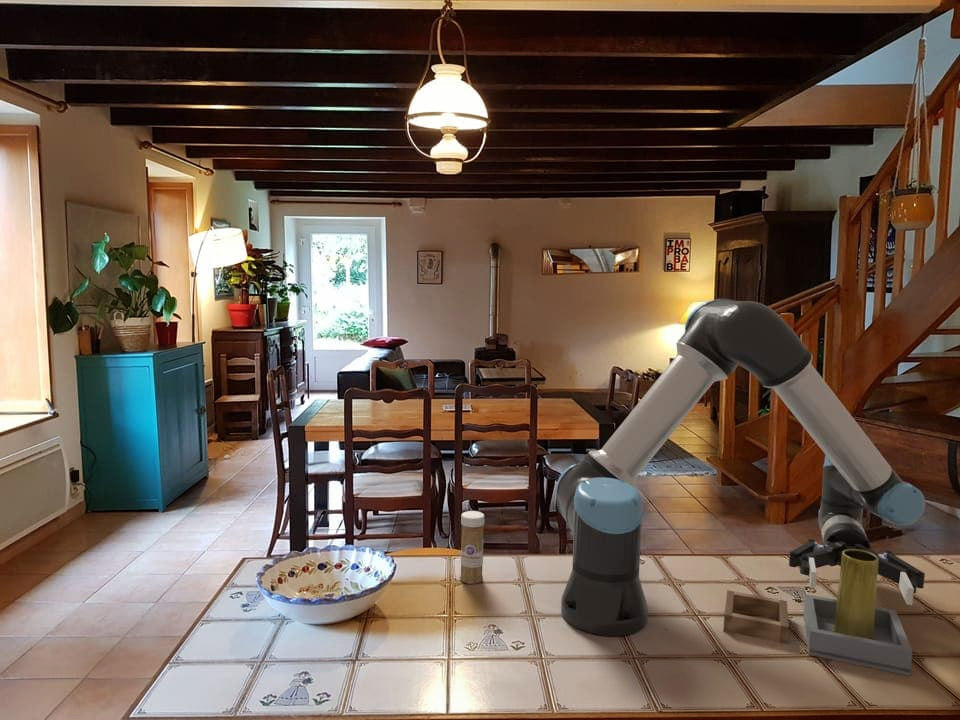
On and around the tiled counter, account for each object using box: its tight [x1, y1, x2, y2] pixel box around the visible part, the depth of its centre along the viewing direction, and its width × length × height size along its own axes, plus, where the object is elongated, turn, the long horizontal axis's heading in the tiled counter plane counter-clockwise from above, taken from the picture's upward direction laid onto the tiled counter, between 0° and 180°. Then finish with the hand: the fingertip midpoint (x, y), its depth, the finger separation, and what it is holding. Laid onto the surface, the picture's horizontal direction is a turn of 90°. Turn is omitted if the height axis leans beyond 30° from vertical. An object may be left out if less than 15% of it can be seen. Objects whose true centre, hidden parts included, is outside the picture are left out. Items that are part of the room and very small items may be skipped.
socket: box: [723, 589, 790, 645], centre depth 117 cm, size 10×10×3 cm
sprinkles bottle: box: [459, 510, 485, 585], centre depth 131 cm, size 5×5×14 cm
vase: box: [833, 549, 879, 640], centre depth 110 cm, size 6×6×14 cm
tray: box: [803, 593, 913, 676], centre depth 111 cm, size 14×14×4 cm
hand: (860, 588), depth 107 cm, fingers open, 13 cm apart
